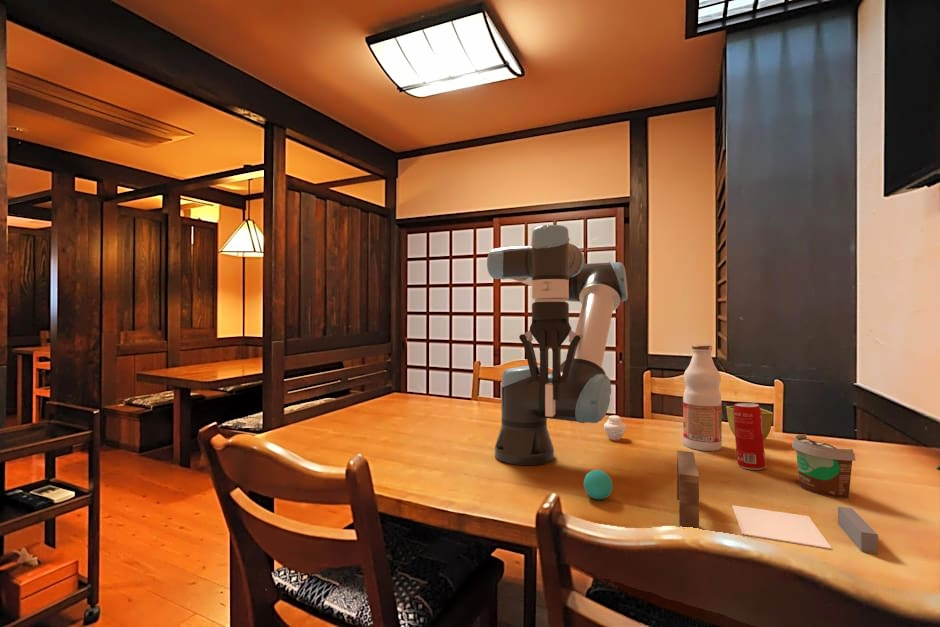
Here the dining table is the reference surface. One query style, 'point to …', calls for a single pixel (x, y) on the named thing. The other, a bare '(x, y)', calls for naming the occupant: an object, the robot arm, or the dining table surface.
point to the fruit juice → (702, 402)
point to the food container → (823, 467)
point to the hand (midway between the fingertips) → (550, 415)
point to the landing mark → (779, 526)
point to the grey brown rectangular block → (687, 489)
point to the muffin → (614, 427)
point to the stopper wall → (858, 530)
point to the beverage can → (749, 436)
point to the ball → (598, 484)
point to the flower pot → (766, 420)
